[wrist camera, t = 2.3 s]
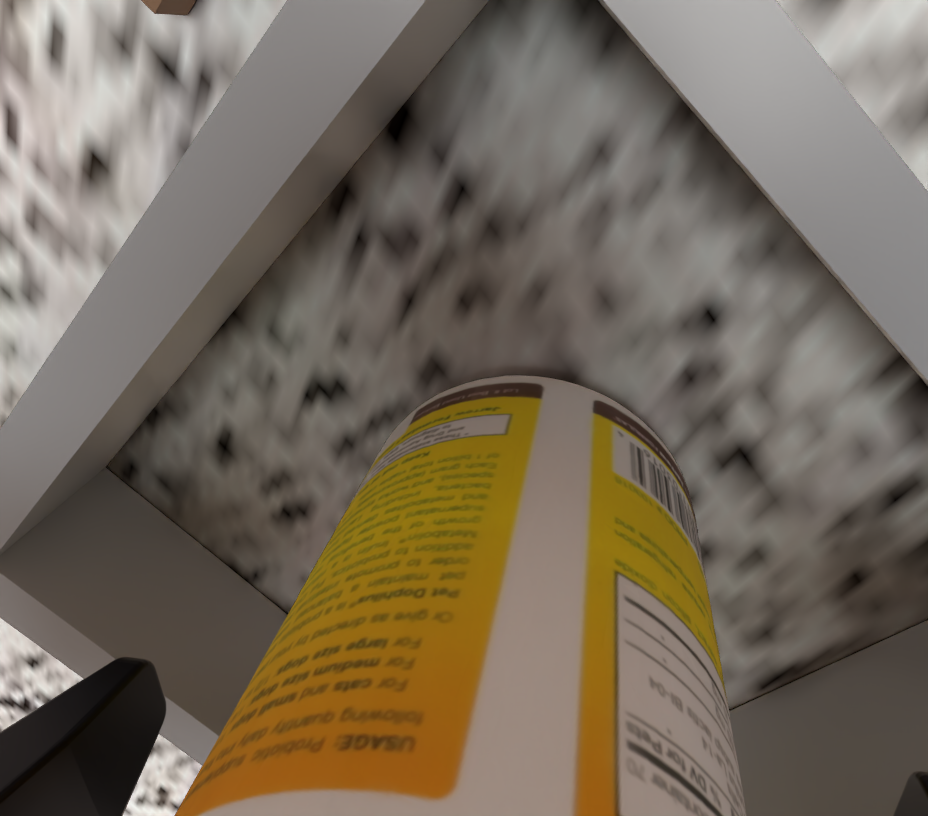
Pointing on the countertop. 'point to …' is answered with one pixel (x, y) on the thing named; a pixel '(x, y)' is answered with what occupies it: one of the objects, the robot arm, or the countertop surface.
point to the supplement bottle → (494, 631)
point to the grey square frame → (271, 230)
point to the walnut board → (169, 6)
